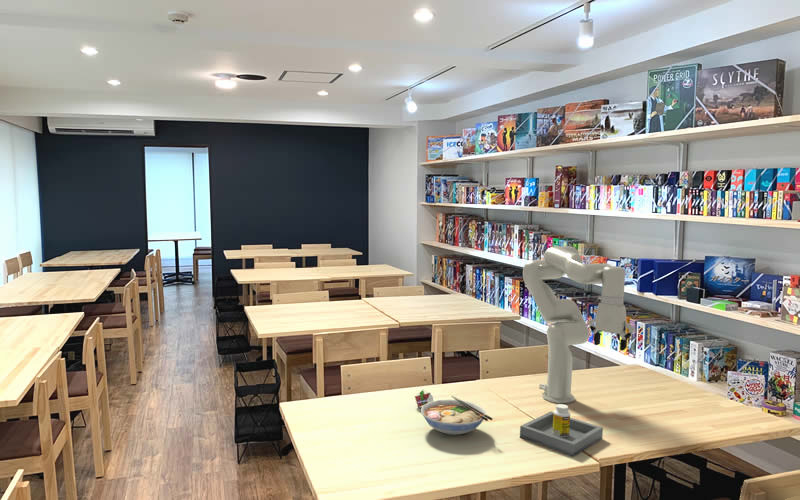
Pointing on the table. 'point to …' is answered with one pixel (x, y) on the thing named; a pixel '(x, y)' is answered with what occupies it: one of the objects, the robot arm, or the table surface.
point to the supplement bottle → (561, 421)
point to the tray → (575, 443)
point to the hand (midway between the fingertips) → (609, 347)
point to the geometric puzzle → (423, 398)
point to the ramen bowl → (453, 416)
